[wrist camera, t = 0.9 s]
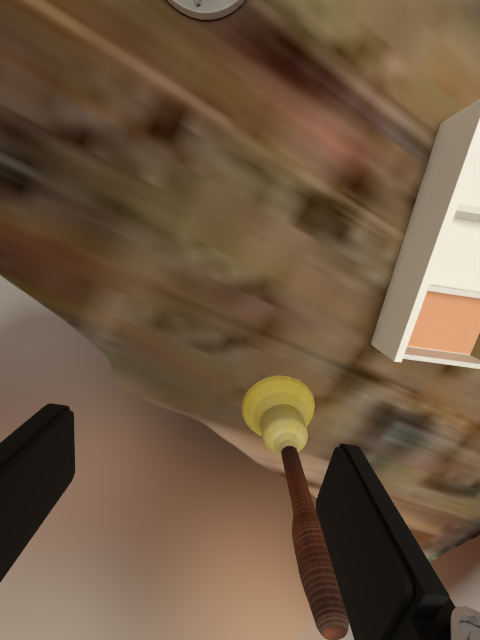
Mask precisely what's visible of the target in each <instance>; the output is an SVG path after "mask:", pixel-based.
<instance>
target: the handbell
mask: <svg viewBox="0 0 480 640" xmlns="http://www.w3.org/2000/svg"><path fill="white" fill-rule="evenodd" d="M314 408H315V403H314V398H313V395H312V393H311V391H310V390H309V388H308V387H307V386H306V385H305V384H303V383H302V382H301V381H300V380H297V379H294V378H292V377H289V376H273V377H268V378H265V379H263V380H261V381H259V382H257V383H255V384H254V385H253V386H252V387H251V388H250V389H249V390H248V391H247V393H246V395H245V397H244V399H243V401H242V414H243V418H244V421H245V422H246V424H247V425H248V426H249V428H250V429H251V430H252V431H254V432H255V433H256V434H258V435H259V436H262V437H263V441H264V444H265V446H266V447H267V448H268V450H269V451H271V452H272V453H274V454H276V455H279V456H282V459H283V464H284V469H285V473H286V478H287V483H288V488H289V492H290V497H291V502H292V509H293V522H292V538H293V543H294V549H295V554H296V559H297V563H298V569H299V574H300V578H301V582H302V585H303V588H304V591H305V594H306V596H307V599H308V602H309V605H310V608H311V611H312V614H313V617H314V620H315V623H316V626H317V628H318V630H319V632H320V633H321V635H322V636H323V637H324V638H326V639H329V640H339V639H341V638H343V637H345V635H346V634H347V632H348V624H349V621H348V616H347V613H346V610H345V606H344V603H343V600H342V596H341V593H340V589H339V586H338V583H337V579H336V576H335V573H334V569H333V566H332V562H331V559H330V556H329V552H328V549H327V546H326V542H325V539H324V536H323V532H322V529H321V525H320V522H319V519H318V515H317V511H316V509H315V508H314V505H313V502H312V499H311V496H310V492H309V489H308V486H307V482H306V479H305V475H304V472H303V469H302V465H301V462H300V458H299V455H298V452H299V451H300V450H302V449H303V448H304V446H305V444H306V442H307V438H308V433H307V428H306V427H307V426H308V424H309V422H310V421H311V419H312V417H313V413H314Z"/></svg>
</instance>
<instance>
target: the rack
mask: <svg viewBox="0 0 480 640" xmlns="http://www.w3.org/2000/svg"><path fill="white" fill-rule="evenodd" d="M479 333H480V99H478V100H477V101H475V102H474V103H472V104H470V105H469V106H467V107H466V108H464V109H462V110H461V111H459V112H457V113H456V114H454V115H453V116H451V117H449V118H448V119H446V120H445V121H443V122H441V123H440V125H439V128H438V131H437V135H436V138H435V141H434V144H433V147H432V150H431V154H430V157H429V160H428V163H427V166H426V170H425V173H424V176H423V179H422V182H421V185H420V189H419V192H418V195H417V198H416V201H415V204H414V208H413V211H412V214H411V217H410V220H409V223H408V227H407V230H406V233H405V236H404V239H403V242H402V246H401V249H400V252H399V255H398V258H397V261H396V265H395V268H394V271H393V274H392V277H391V281H390V284H389V287H388V290H387V293H386V296H385V300H384V303H383V306H382V309H381V312H380V315H379V319H378V322H377V325H376V328H375V331H374V334H373V338H372V341H371V345H372V346H374V347H375V348H376V349H378V350H379V351H381V352H382V353H383V354H385V355H386V356H387V357H389V358H390V359H392V360H393V361H395V362H402V359H410V360H417V361H425V362H432V363H440V364H447V365H455V366H462V367H470V368H477V369H480V360H479V359H477V358H474V357H472V356H470V353H471V351H472V349H473V347H474V344H475V342H476V340H477V337H478V335H479Z"/></svg>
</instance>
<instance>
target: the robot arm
mask: <svg viewBox="0 0 480 640" xmlns="http://www.w3.org/2000/svg"><path fill="white" fill-rule="evenodd" d="M167 1H168V2H169V3H170V4H171V5H172V6H174V7H175V8H176V9H177V10H179V11H180V12H182V13H184V14H186V15H188V16H189V17H193V18H196V19H200V20H213V19H217V18H221V17H224V16H226V15H228V14H230V13H232V12H233V11H235V10H236V9H237V8H238V7H239V6H241V5H242V4H243V3H244V1H245V0H167ZM74 473H75V446H74V413H73V412H72V411H70V408H69V407H68V406H64V405H58V404H47V405H46V406H44V407H43V408H42V409H41V410H39V411H38V412H37V413H36V414H35V415H33V416H32V417H31V418H30V419H28V420H27V421H26V422H25V423H24V424H22V425H21V426H20V427H19V428H18V429H16V430H15V431H14V432H13V433H12V434H11V435H9V436H8V437H7V438H6V439H4V440H3V441H2V442H1V443H0V582H1V581H2V579H3V578H4V576H5V575H6V573H7V572H8V571H9V569H10V568H11V566H12V565H13V564H14V562H15V561H16V559H17V558H18V557H19V555H20V554H21V552H22V551H23V549H24V548H25V547H26V545H27V544H28V542H29V541H30V539H31V538H32V537H33V535H34V534H35V532H36V531H37V530H38V528H39V527H40V525H41V524H42V522H43V521H44V520H45V518H46V517H47V515H48V514H49V513H50V511H51V510H52V508H53V507H54V506H55V504H56V503H57V501H58V500H59V498H60V497H61V496H62V494H63V493H64V491H65V490H66V489H67V487H68V486H69V484H70V483H71V481H72V479H73V477H74ZM316 511H317V515H318V519H319V522H320V525H321V529H322V532H323V536H324V539H325V542H326V546H327V549H328V552H329V556H330V559H331V562H332V566H333V569H334V573H335V576H336V579H337V583H338V586H339V589H340V593H341V596H342V600H343V603H344V606H345V610H346V613H347V616H348V620H349V623H350V626H351V630H352V633H353V637H354V640H480V613H479V612H478V611H476V610H474V609H471V608H469V607H466V606H463V607H462V606H460V607H455V606H454V604H453V602H452V601H451V599H450V598H449V594H448V593H447V591H446V589H445V588H444V586H443V584H442V583H441V581H440V579H439V578H438V576H437V574H436V573H435V571H434V570H433V568H432V566H431V565H430V563H429V561H428V559H427V558H426V556H425V555H424V553H423V551H422V550H421V548H420V546H419V545H418V543H417V541H416V540H415V538H414V536H413V535H412V533H411V531H410V530H409V528H408V526H407V525H406V523H405V522H404V520H403V518H402V517H401V515H400V513H399V512H398V510H397V508H396V507H395V505H394V503H393V502H392V500H391V498H390V497H389V495H388V493H387V492H386V490H385V488H384V487H383V485H382V484H381V482H380V480H379V479H378V477H377V475H376V474H375V472H374V470H373V469H372V467H371V465H370V464H369V462H368V460H367V459H366V457H365V455H364V454H363V452H362V451H361V449H360V448H359V447H358V446H355V445H348V444H340V445H339V447H336V448H335V449H334V452H333V455H332V457H331V460H330V463H329V466H328V469H327V472H326V474H325V477H324V480H323V483H322V486H321V489H320V491H319V494H318V497H317V500H316Z"/></svg>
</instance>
